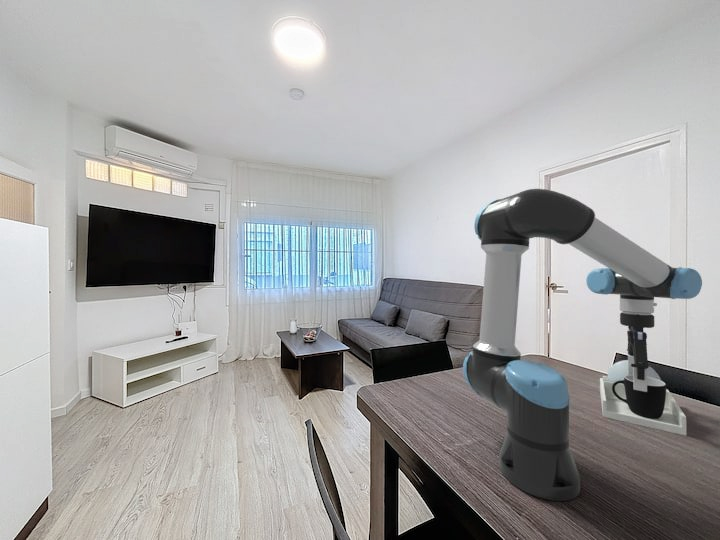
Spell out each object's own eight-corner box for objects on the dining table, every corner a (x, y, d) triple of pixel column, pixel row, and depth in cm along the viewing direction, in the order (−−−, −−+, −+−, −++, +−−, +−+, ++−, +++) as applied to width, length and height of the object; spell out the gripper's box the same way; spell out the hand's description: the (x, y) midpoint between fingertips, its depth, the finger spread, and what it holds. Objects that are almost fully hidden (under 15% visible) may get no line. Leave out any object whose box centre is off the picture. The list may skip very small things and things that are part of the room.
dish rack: (686, 435, 77) (686, 413, 77) (603, 416, 87) (602, 396, 87) (667, 404, 94) (667, 386, 94) (600, 391, 104) (599, 375, 104)
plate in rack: (662, 406, 91) (661, 364, 91) (608, 395, 99) (607, 357, 99) (661, 404, 92) (660, 363, 92) (608, 394, 100) (607, 356, 100)
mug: (668, 414, 86) (667, 380, 86) (664, 425, 80) (663, 388, 80) (615, 400, 95) (615, 370, 95) (608, 409, 90) (608, 376, 90)
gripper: (663, 319, 75) (663, 401, 75) (647, 309, 95) (647, 374, 95) (624, 316, 80) (624, 393, 80) (616, 307, 99) (616, 369, 99)
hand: (636, 383), depth 87 cm, fingers open, 13 cm apart
